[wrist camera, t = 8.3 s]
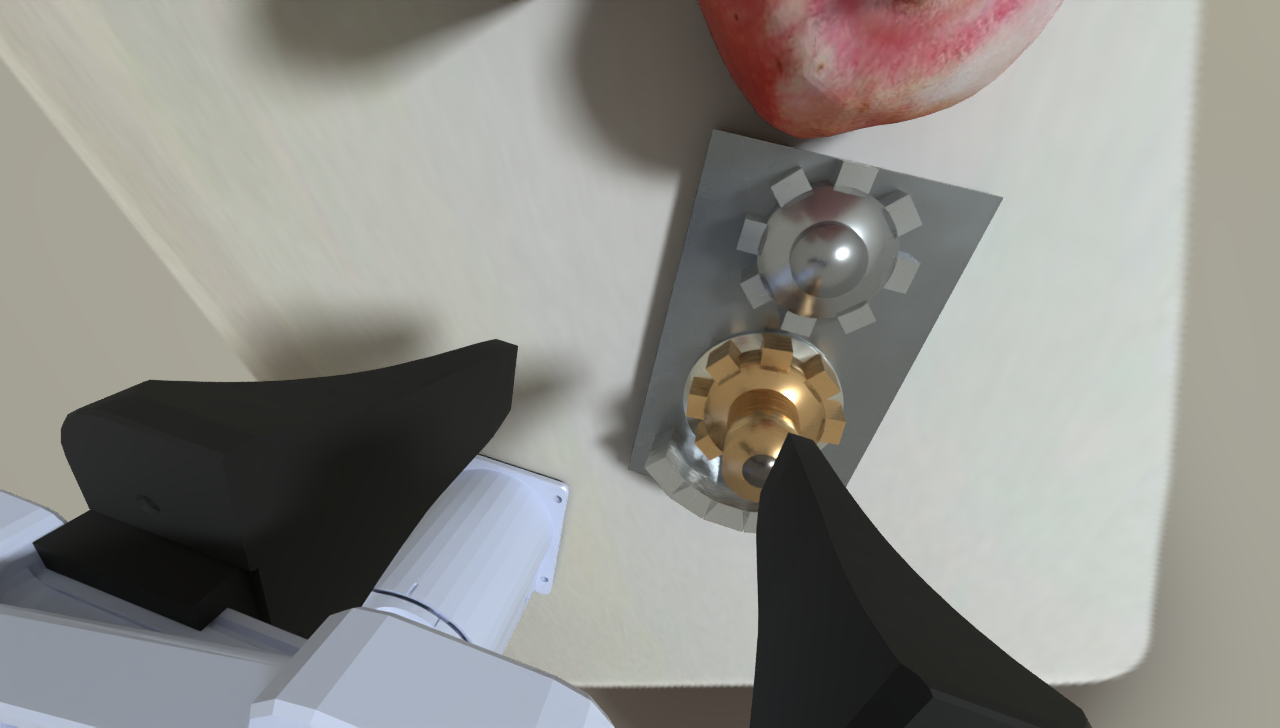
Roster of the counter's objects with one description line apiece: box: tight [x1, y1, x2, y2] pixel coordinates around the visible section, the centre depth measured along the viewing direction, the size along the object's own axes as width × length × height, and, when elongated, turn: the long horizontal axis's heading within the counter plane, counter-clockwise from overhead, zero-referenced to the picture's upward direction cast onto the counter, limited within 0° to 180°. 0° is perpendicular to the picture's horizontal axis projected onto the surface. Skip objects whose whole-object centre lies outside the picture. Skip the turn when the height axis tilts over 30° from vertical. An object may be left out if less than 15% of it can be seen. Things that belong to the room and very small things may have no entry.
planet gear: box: [686, 332, 846, 503], centre depth 19 cm, size 6×6×5 cm
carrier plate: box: [628, 129, 1003, 487], centre depth 21 cm, size 16×10×1 cm, turn 168°
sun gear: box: [736, 159, 923, 337], centre depth 17 cm, size 6×6×2 cm
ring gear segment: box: [644, 427, 759, 533], centre depth 22 cm, size 3×8×2 cm, turn 78°
